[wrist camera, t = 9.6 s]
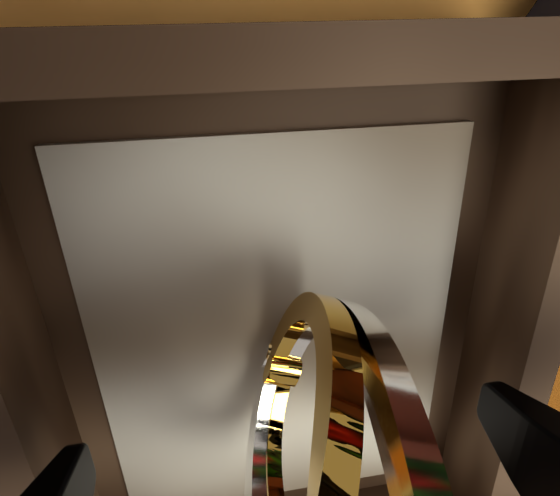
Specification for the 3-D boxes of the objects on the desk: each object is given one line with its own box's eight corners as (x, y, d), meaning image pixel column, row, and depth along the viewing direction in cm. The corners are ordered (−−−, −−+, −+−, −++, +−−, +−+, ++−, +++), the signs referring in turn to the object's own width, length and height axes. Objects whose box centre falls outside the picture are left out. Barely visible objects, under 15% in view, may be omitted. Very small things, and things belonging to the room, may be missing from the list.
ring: (258, 228, 10) (387, 630, 3) (372, 255, 11) (698, 619, 4) (193, 437, 12) (174, 949, 5) (292, 445, 13) (394, 898, 6)
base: (423, 427, 19) (501, 556, 14) (106, 478, 17) (63, 648, 12) (481, 37, 12) (666, 14, 7) (-21, 50, 10) (-228, 32, 6)
